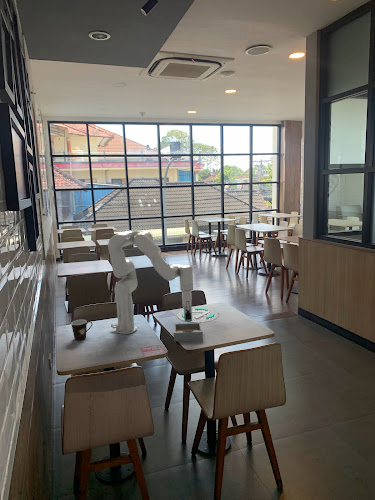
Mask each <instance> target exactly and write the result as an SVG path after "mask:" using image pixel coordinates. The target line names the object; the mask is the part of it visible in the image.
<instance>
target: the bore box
mask: <svg viewBox="0 0 375 500" xmlns="http://www.w3.org/2000/svg"><path fill="white" fill-rule="evenodd" d="M203 336H204V334H203V327H202V323H201V322H200V323H193V322H185V323H184V322H183V323H180V322H179V323H173V341H174V342H191V341H192V342H193V341H203V339H204V337H203Z"/></svg>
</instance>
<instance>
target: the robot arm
mask: <svg viewBox="0 0 375 500" xmlns="http://www.w3.org/2000/svg"><path fill="white" fill-rule="evenodd" d="M131 245H132V246H133V245H135V247H136V248H138V250H140V251H141V252H142V254H144V255H145V256H146V257H147V258H148V259H149V260H150V263H151V265H152V267H153V268H154V270H155V271H156V272H157V273H158V275H159V276H160V277H162V278H163V279H164V280H167V282H169V281H170V282H171V281H174V280H175V279H177V278H179V290H180V291H181V297H182V298H181V299H182V301H181V303H182V309H184V308H185V310H186V309H187V310H186V313H185V318H186V320H191V312H190V308H191V305H192V300H193V299H192V291H193V290H194V273H193V270H194V269H193V266H192V265H190V264H178V263H177V264H176V263H173V264H171V265H169V263H167V262H166V261H165V260H164V258H163V256H162V248H160V247H159V246H158V245H157V244H156V243H155V242H154V237H153V234H151V232H150V231H147V230H124V231H121V232H118V233H116V234H114V235H113V236H111V237H110V238H109V241H108V243H107V248H108V252H109V256H110V257H109V258H110V263H111V269H112V273H113V275H114V277H116V278H118V279H120V280H118V281H117V282H116V283H115V285H114V289H113V291H114V295H115V300H116V301H115V302H116V315H117V323H114V324H113V323H110V328H112V329H115V332H116V333H117V334H119V335H130V334H133V333H135V332H137V330H138V327H137V326H136V325H135V317H134V302H133V298H132V293H133V292H134V291H135V290H136V289H137V287H138V283H139V282H138V278H137V274H136V273H137V272H136V267H135V264H134V263H133V261H132V260H131V259H126V254H125V251H124V250H123V248H124V247H128V246H131ZM186 303H187V304H186ZM192 306H193V305H192Z"/></svg>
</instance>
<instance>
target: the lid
mask: <svg viewBox="0 0 375 500" xmlns="http://www.w3.org/2000/svg"><path fill="white" fill-rule="evenodd" d="M206 308H207V307H192V313H201V314H196V315H193V318H192V321H191V322H190V323H193V322H194V323H196V322H197V323H198V322H200V323H201V324H202V322H203V323H208V322H212V321H215V320H214V319H212V320H211V319H209V318H212V317H214V315H215V314H213V313H210V312H211V311H208V309H206ZM195 310H197V311H195ZM198 310H205V311H198ZM183 312H184V309H182V310H180V311H178V313H179V314H177V313H176V318H177V319H178V320H180V321H182V322H185V320H184V313H183ZM208 313H210V315H209V316H207V317H206V318H204V317H205V316H204V315H207V314H208ZM202 317H203V318H202ZM194 318H195V319H194ZM193 319H194V320H195V321H194V320H193ZM205 319H206V320H205ZM208 319H209V321H208ZM207 321H208V322H207Z"/></svg>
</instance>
